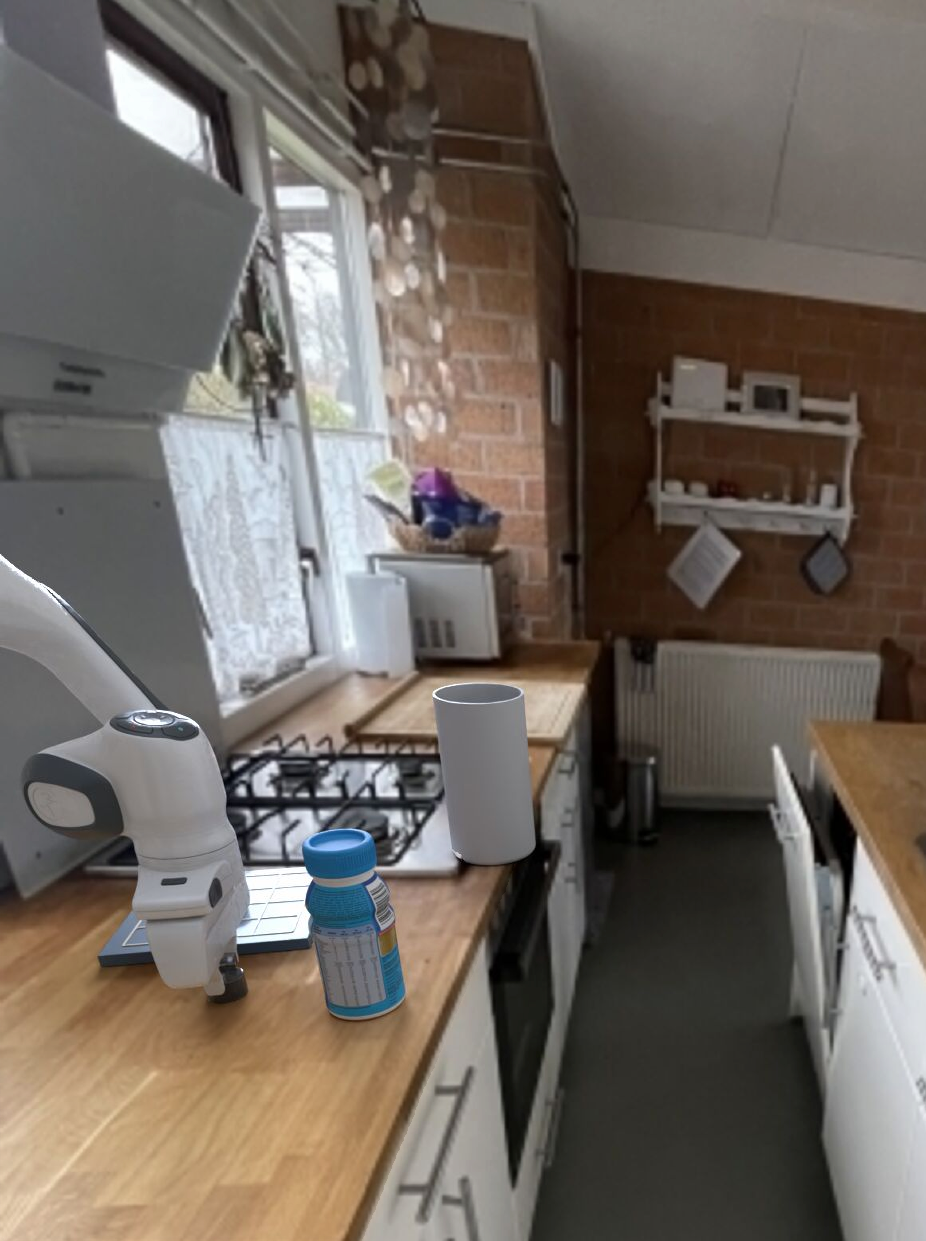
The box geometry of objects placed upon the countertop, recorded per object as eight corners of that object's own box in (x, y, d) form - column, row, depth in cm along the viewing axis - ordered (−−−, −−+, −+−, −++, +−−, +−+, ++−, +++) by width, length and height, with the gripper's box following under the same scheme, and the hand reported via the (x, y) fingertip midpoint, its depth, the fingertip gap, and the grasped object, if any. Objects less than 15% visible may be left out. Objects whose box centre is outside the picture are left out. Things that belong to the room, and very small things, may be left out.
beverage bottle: (344, 1032, 94) (309, 863, 85) (313, 999, 99) (278, 836, 90) (420, 1004, 100) (396, 842, 91) (388, 974, 105) (361, 818, 96)
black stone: (202, 1005, 97) (197, 986, 96) (212, 986, 100) (207, 968, 99) (243, 1001, 98) (238, 982, 97) (251, 982, 102) (247, 964, 101)
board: (100, 967, 103) (96, 954, 102) (160, 886, 121) (156, 875, 120) (310, 948, 109) (307, 936, 108) (336, 874, 128) (333, 864, 127)
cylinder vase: (510, 872, 132) (494, 708, 121) (435, 860, 134) (413, 697, 123) (550, 841, 143) (539, 688, 132) (480, 830, 145) (464, 679, 134)
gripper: (187, 832, 100) (215, 937, 106) (124, 913, 83) (162, 1034, 89) (250, 828, 102) (274, 932, 108) (201, 908, 85) (233, 1026, 91)
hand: (223, 979), depth 98 cm, fingers closed on black stone, 4 cm apart
